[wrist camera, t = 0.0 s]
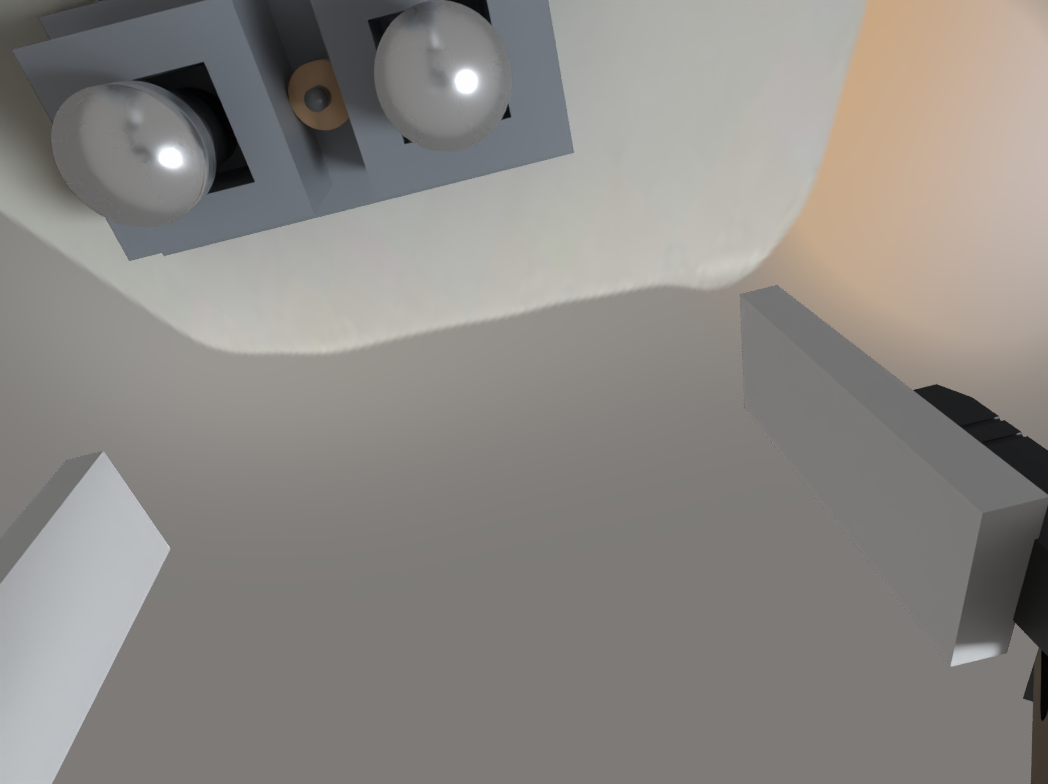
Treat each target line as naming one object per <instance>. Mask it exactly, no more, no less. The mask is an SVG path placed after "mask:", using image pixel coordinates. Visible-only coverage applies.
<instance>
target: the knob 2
mask: <svg viewBox="0 0 1048 784" xmlns="http://www.w3.org/2000/svg"><path fill="white" fill-rule="evenodd" d="M374 80H375V88H376V92H377V96H378V99H379V102H380V104H381V107H382V109H383V111H384V113H385V114H386V116H387V118H388V119H389V121H390V122H391V123H392V125H393V126H394V127H395V128H396V129H397V130H398V131H399V132H400V133H401V134H402V135H403V136H404V137H406V138H407V139H409V140H410V141H411V142H413V143H415V144H417V145H419V146H421V147H424V148H426V149H430V150H434V151H442V152H452V151H459V150H463V149H466V148H469V147H471V146H473V145H475V144H477V143H479V142H480V141H482V140H483V139H485V138H486V137H487V136H488V135H489V134H490V133H491V132H492V131H493V130H494V129H495V128H496V127H497V125H498V124H499V122H500V121H501V119H502V117H503V115H504V113H505V111H506V108H507V105H508V102H509V98H510V94H511V84H512V78H511V67H510V62H509V58H508V54H507V51H506V49H505V46H504V44H503V42H502V40H501V38H500V37H499V35H498V33H497V32H496V31H495V29H494V28H493V27H492V26H491V24H490V23H489V22H488V21H487V20H486V19H485V18H483V17H482V16H481V15H480V14H479V13H477V12H476V11H474V10H472V9H471V8H469V7H466V6H464V5H462V4H459V3H455V2H452V1H444V0H433V1H427V2H423V3H420V4H417V5H414V6H412V7H410V8H408V9H407V10H405V11H404V12H402V13H401V14H400V15H398V16H397V17H396V18H395V19H394V20H393V21H392V23H391V24H390V25H389V27H388V28H387V29H386V31H385V33H384V34H383V36H382V38H381V40H380V43H379V46H378V48H377V52H376V56H375V64H374Z"/></svg>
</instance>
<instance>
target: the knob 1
mask: <svg viewBox="0 0 1048 784" xmlns="http://www.w3.org/2000/svg"><path fill="white" fill-rule="evenodd" d="M51 145H52V152H53V156H54V159H55V162H56V165H57V168H58V170H59V172H60V174H61V176H62V177H63V179H64V180H65V182H66V183H67V185H68V186H69V188H70V189H71V190H72V191H73V193H74V194H75V195H76V196H77V197H78V198H79V199H80V200H81V201H82V202H83V203H85V204H86V205H87V206H88V207H89V208H91V209H92V210H94V211H95V212H97V213H98V214H100V215H102V216H104V217H106V218H107V219H110V220H112V221H115V222H117V223H120V224H124V225H128V226H133V227H143V228H146V227H157V226H162V225H165V224H168V223H170V222H172V221H174V220H176V219H178V218H179V217H181V216H182V215H183V214H185V213H186V212H187V211H189V210H190V209H191V208H193V207H194V206H195V205H197V204H198V203H199V202H200V201H201V200H202V199H203V198H204V197H205V196H206V195H207V193H208V192H209V190H210V188H211V186H212V184H213V181H214V178H215V172H216V168H217V167H219V166H220V165H222V164H223V163H224V162H226V161H227V160H228V159H229V158H230V157H231V156H232V154H233V152H234V150H235V148H236V145H237V138H236V136H235V134H234V131H233V129H232V126H231V124H230V122H229V119H228V117H227V115H226V112H225V110H224V108H223V105H222V103H221V101H220V100H219V99H218V98H217V97H215V96H214V95H212V94H211V93H209V92H207V91H205V90H202V89H199V88H195V87H182V88H177V89H173V90H169V91H168V90H166V89H164V88H161V87H159V86H156V85H154V84H151V83H146V82H142V81H133V80H131V81H119V82H113V83H108V84H103V85H97V86H92V87H88V88H85V89H82V90H80V91H78V92H76V93H74V94H73V95H72V96H70V97H69V98H68V99H67V100H66V101H65V102H64V103H63V104H62V105H61V106H60V108H59V110H58V111H57V113H56V115H55V118H54V121H53V125H52V130H51Z"/></svg>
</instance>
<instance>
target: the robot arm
mask: <svg viewBox="0 0 1048 784" xmlns="http://www.w3.org/2000/svg"><path fill="white" fill-rule="evenodd" d="M740 312H741V334H742V360H743V384H744V408H745V409H746V410H747V412H748V413H749V414H750V415H751V417H752V418H753V419H754V420H755V422H756V423H757V424H758V425H759V426H760V428H761V429H762V431H763V432H764V433H765V434H766V436H767V437H768V438H769V439H770V441H771V442H772V443H773V444H774V446H775V447H776V448H777V449H778V450H779V452H780V453H781V454H782V456H783V457H784V458H785V459H786V461H787V462H788V463H789V464H790V466H791V467H792V468H793V469H794V471H795V472H796V473H797V474H798V476H799V477H800V478H801V479H802V481H803V482H804V483H805V485H806V486H807V487H808V488H809V490H810V491H811V492H812V493H813V495H814V496H815V497H816V498H817V500H818V501H819V502H820V503H821V504H822V506H823V507H824V508H825V510H826V511H827V512H828V513H829V515H830V516H831V517H832V518H833V520H834V521H835V522H836V524H837V525H838V526H839V527H840V529H841V530H842V531H843V532H844V533H845V535H846V536H847V537H848V538H849V540H850V541H851V542H852V544H853V545H854V546H855V547H856V549H857V550H858V551H859V552H860V554H861V555H862V556H863V557H864V559H865V560H866V561H867V562H868V564H869V565H870V566H871V567H872V569H873V570H874V571H875V573H876V574H877V575H878V576H879V578H880V579H881V580H882V581H883V583H884V584H885V585H886V586H887V588H888V589H889V590H890V591H891V593H892V594H893V595H894V596H895V598H896V599H897V600H898V601H899V603H900V604H901V605H902V606H903V608H904V609H905V610H906V611H907V613H908V614H909V615H910V617H911V618H912V619H913V620H914V622H915V623H916V624H917V625H918V626H919V628H920V629H921V630H922V631H923V633H924V634H925V635H926V637H927V638H928V639H929V640H930V642H931V643H932V644H933V645H934V647H935V648H936V649H937V650H938V652H939V653H940V654H941V655H942V657H943V658H944V659H945V661H946V662H947V663H948V664H949V666H956V665H959V664H964V663H968V662H972V661H976V660H980V659H984V658H989V657H993V656H997V655H1001V654H1005V653H1007V651H1008V647H1009V643H1010V640H1011V636H1012V632H1013V629H1014V625H1015V623H1016V624H1017V625H1018V626H1019V627H1020V628H1021V629H1022V630H1023V631H1024V632H1025V633H1026V634H1027V635H1028V636H1029V637H1030V638H1031V639H1032V641H1033V642H1034V643H1035V644H1036V645H1037V646H1038V647H1039V649H1038V653H1037V656H1036V659H1035V662H1034V665H1033V668H1032V672H1031V675H1030V678H1029V681H1028V684H1027V687H1026V691H1025V694H1024V697H1023V699H1026V700H1030V701H1033V727H1032V728H1033V730H1032V769H1031V784H1048V450H1046V449H1045V448H1043V447H1042V446H1041V445H1039V444H1038V443H1036V442H1035V441H1033V440H1032V439H1030V438H1029V437H1028V436H1027V437H1023V436H1022V432H1021V431H1019V430H1018V429H1016V428H1015V427H1013V426H1012V425H1011V424H1009V423H1008V422H1006V421H1005V420H1003V421H1001V420H1000V419H999V416H998V415H996V414H995V413H993V412H992V411H991V410H989V409H988V408H986V407H985V406H984V405H982V404H981V403H979V402H978V401H977V400H975V399H974V398H972V397H970V396H967V395H964V394H961V393H959V392H956V391H953V390H951V389H948V388H945V387H942V386H939V385H937V384H936V385H932V386H928V387H924V388H920V389H915V390H912V389H911V388H909V387H908V386H907V385H905V384H904V383H903V382H902V381H900V380H899V379H898V378H896V377H895V376H894V375H893V374H891V373H890V372H889V371H887V370H886V369H885V368H884V367H882V366H881V365H880V364H878V363H877V362H876V361H874V360H873V359H872V358H871V357H869V356H868V355H867V354H865V353H864V352H863V351H862V350H860V349H859V348H858V347H856V346H855V345H854V344H853V343H851V342H850V341H849V340H847V339H846V338H845V337H843V336H842V335H841V334H840V333H838V332H837V331H836V330H835V329H833V328H832V327H831V326H829V325H828V324H827V323H826V322H824V321H823V320H822V319H820V318H819V317H818V316H816V315H815V314H814V313H813V312H811V311H810V310H809V309H807V308H806V307H805V306H804V305H802V304H801V303H800V302H798V301H797V300H796V299H795V298H793V297H792V296H791V295H789V294H788V293H787V292H786V291H784V290H783V289H782V288H780V287H779V286H778V285H775V286H771V287H767V288H763V289H759V290H755V291H751V292H747V293H743V294H740ZM169 550H170V547H169V546H168V544H167V543H166V542H165V540H164V539H163V537H162V536H161V534H160V533H159V531H158V530H157V528H156V527H155V525H154V524H153V523H152V522H151V520H150V518H149V517H148V515H147V514H146V513H145V511H144V509H143V508H142V507H141V505H140V504H139V502H138V501H137V499H136V498H135V497H134V495H133V494H132V492H131V491H130V489H129V488H128V486H127V485H126V483H125V482H124V480H123V479H122V477H121V476H120V475H119V473H118V472H117V470H116V469H115V467H114V466H113V464H112V463H111V462H110V460H109V458H108V457H107V456H106V454H105V453H104V451H101V452H97V453H93V454H89V455H85V456H81V457H77V458H73V459H69V460H66V461H65V462H64V464H63V465H62V466H61V467H60V468H59V470H58V471H57V472H56V473H55V474H54V475H53V477H52V478H51V479H50V480H49V481H48V483H47V484H46V485H45V486H44V487H43V488H42V490H41V491H40V492H39V493H38V494H37V496H36V497H35V498H34V499H33V500H32V502H31V503H30V504H29V505H28V506H27V507H26V509H25V510H24V511H23V512H22V514H21V515H20V516H19V517H18V518H17V519H16V521H15V522H14V523H13V524H12V525H11V526H10V528H9V529H8V530H7V531H6V532H5V534H4V535H3V536H2V537H1V538H0V784H52V782H53V780H54V778H55V776H56V774H57V772H58V770H59V768H60V767H61V764H62V763H63V760H64V758H65V757H66V755H67V753H68V751H69V748H70V747H71V744H72V743H73V741H74V739H75V737H76V735H77V733H78V730H79V729H80V727H81V725H82V723H83V721H84V719H85V717H86V715H87V713H88V711H89V709H90V707H91V705H92V703H93V701H94V699H95V697H96V695H97V693H98V691H99V689H100V687H101V685H102V683H103V681H104V679H105V677H106V675H107V673H108V671H109V669H110V667H111V665H112V663H113V661H114V659H115V657H116V655H117V653H118V651H119V649H120V647H121V645H122V644H123V641H124V640H125V637H126V635H127V633H128V632H129V630H130V628H131V626H132V624H133V622H134V620H135V618H136V616H137V614H138V612H139V610H140V608H141V606H142V604H143V602H144V600H145V598H146V596H147V594H148V592H149V590H150V588H151V586H152V584H153V582H154V580H155V578H156V576H157V574H158V572H159V570H160V568H161V566H162V564H163V562H164V560H165V558H166V556H167V554H168V552H169Z"/></svg>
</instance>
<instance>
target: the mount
mask: <svg viewBox="0 0 1048 784" xmlns="http://www.w3.org/2000/svg"><path fill="white" fill-rule="evenodd" d="M427 1H433V0H104V1H100V2H96V3H92V4H88V5H84V6H80V7H77V8H73V9H69V10H65V11H61V12H57V13H53V14H49V15H45V16H41V17H38V18H39V20H40V22H41V24H42V26H43V28H44V29H45V31H46V33H47V35H48V37H49V39H50V40H48V41H44V42H40V43H36V44H32V45H28V46H24V47H20V48H16V49H12V52H13V53H14V55H15V57H16V59H17V61H18V62H19V64H20V66H21V68H22V70H23V71H24V73H25V75H26V77H27V79H28V80H29V82H30V84H31V86H32V87H33V89H34V91H35V93H36V95H37V96H38V98H39V100H40V102H41V104H42V105H43V107H44V109H45V111H46V113H47V114H48V116H49V118H50V120H51V121H52V123H53V121H54V118H55V115H56V113H57V111H58V110H59V108H60V106H61V105H62V104H63V103H64V102H65V101H66V100H67V99H68V98H69V97H70V96H72V95H73V94H74V93H76V92H78V91H80V90H82V89H85V88H88V87H92V86H97V85H103V84H108V83H113V82H119V81H131V80H133V81H142V82H146V83H151V84H154V85H156V86H159V87H161V88H164V89H166V90H168V91H169V90H173V89H177V88H182V87H195V88H199V89H202V90H205V91H207V92H209V93H211V94H212V95H214V96H215V97H217V98H218V99H219V100H220V101H221V103H222V105H223V108H224V110H225V112H226V115H227V117H228V119H229V122H230V124H231V126H232V129H233V131H234V134H235V136H236V138H237V145H236V148H235V150H234V152H233V154H232V156H231V157H230V158H229V159H228V160H227V161H226V162H224V163H223V164H222V165H220V166H219V167H217V168H216V172H215V178H214V181H213V184H212V186H211V188H210V190H209V192H208V193H207V195H206V196H205V197H204V198H203V199H202V200H201V201H200V202H199V203H198V204H197V205H195V206H194V207H193V208H191V209H190V210H189V211H187V212H186V213H185V214H183V215H182V216H181V217H179V218H178V219H176V220H174V221H172V222H170V223H168V224H165V225H162V226H157V227H146V228H143V227H133V226H128V225H124V224H120V223H117V222H115V221H112V220H110V219H107V218H106V217H105V218H106V220H107V222H108V224H109V225H110V227H111V229H112V231H113V232H114V234H115V236H116V238H117V240H118V241H119V243H120V245H121V247H122V249H123V250H124V252H125V254H126V256H127V258H128V259H129V261H131V260H135V259H139V258H143V257H147V256H151V255H155V254H159V253H163V255H164V256H166V255H170V254H174V253H178V252H182V251H186V250H190V249H194V248H198V247H202V246H205V245H209V244H213V243H217V242H221V241H225V240H229V239H233V238H237V237H241V236H245V235H249V234H253V233H257V232H261V231H265V230H269V229H273V228H277V227H281V226H285V225H289V224H293V223H297V222H301V221H305V220H309V219H313V218H317V217H321V216H325V215H329V214H333V213H337V212H341V211H344V210H348V209H352V208H356V207H360V206H364V205H368V204H372V203H376V202H380V201H384V200H388V199H392V198H396V197H400V196H404V195H408V194H412V193H416V192H420V191H424V190H428V189H432V188H436V187H440V186H444V185H448V184H452V183H456V182H460V181H464V180H468V179H472V178H476V177H480V176H483V175H487V174H491V173H495V172H499V171H503V170H507V169H511V168H515V167H519V166H523V165H527V164H531V163H535V162H539V161H543V160H547V159H551V158H555V157H559V156H563V155H567V154H571V153H574V151H573V145H572V139H571V133H570V127H569V121H568V115H567V109H566V103H565V97H564V91H563V85H562V79H561V73H560V67H559V61H558V56H557V50H556V44H555V38H554V32H553V26H552V20H551V14H550V8H549V2H548V0H444V1H452V2H455V3H459V4H462V5H464V6H466V7H469V8H471V9H472V10H474V11H476V12H477V13H479V14H480V15H481V16H482V17H483V18H485V19H486V20H487V21H488V22H489V23H490V24H491V26H492V27H493V28H494V29H495V31H496V32H497V33H498V35H499V37H500V38H501V40H502V42H503V44H504V46H505V49H506V51H507V54H508V58H509V62H510V67H511V78H512V84H511V94H510V98H509V102H508V105H507V108H506V111H505V113H504V115H503V117H502V119H501V121H500V122H499V124H498V125H497V127H496V128H495V129H494V130H493V131H492V132H491V133H490V134H489V135H488V136H487V137H486V138H485V139H483V140H482V141H480V142H479V143H477V144H475V145H473V146H471V147H469V148H466V149H463V150H459V151H452V152H442V151H434V150H430V149H426V148H424V147H421V146H419V145H417V144H415V143H413V142H411V141H410V140H409V139H407V138H406V137H404V136H403V135H402V134H401V133H400V132H399V131H398V130H397V129H396V128H395V127H394V126H393V125H392V123H391V122H390V121H389V119H388V118H387V116H386V114H385V113H384V111H383V109H382V107H381V104H380V102H379V99H378V96H377V92H376V88H375V80H374V64H375V56H376V52H377V48H378V46H379V43H380V40H381V38H382V36H383V34H384V33H385V31H386V29H387V28H388V27H389V25H390V24H391V23H392V21H393V20H394V19H395V18H396V17H397V16H398V15H400V14H401V13H402V12H404V11H405V10H407V9H408V8H410V7H412V6H414V5H417V4H420V3H423V2H427Z"/></svg>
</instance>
